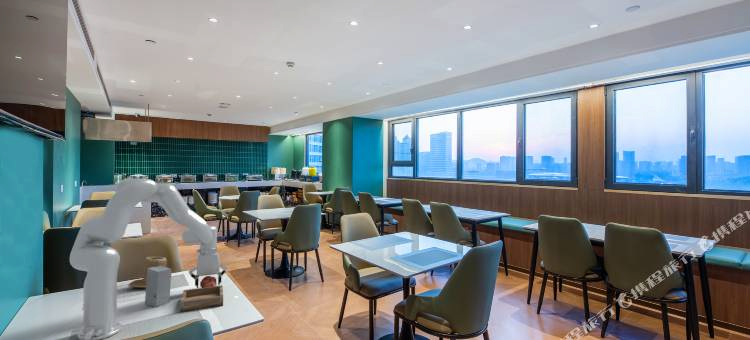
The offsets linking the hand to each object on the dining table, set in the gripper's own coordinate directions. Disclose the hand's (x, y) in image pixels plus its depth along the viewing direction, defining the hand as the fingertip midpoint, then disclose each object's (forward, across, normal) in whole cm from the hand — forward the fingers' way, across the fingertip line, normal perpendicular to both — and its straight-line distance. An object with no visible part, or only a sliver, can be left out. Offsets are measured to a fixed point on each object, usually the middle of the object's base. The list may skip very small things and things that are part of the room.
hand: (208, 285), depth 170 cm
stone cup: (+3, -27, +19) cm, 33 cm away
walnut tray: (+2, -2, -16) cm, 16 cm away
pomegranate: (+3, 0, 0) cm, 3 cm away
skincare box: (+2, -20, -9) cm, 22 cm away
